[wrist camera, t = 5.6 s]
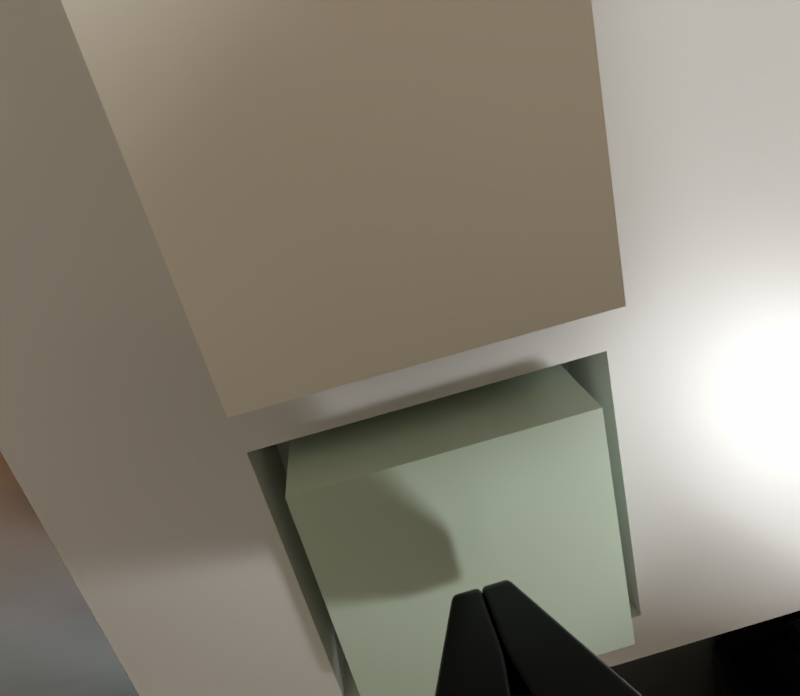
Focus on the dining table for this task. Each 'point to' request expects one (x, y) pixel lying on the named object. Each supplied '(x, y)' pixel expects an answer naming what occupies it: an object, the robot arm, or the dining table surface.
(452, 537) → the key sage
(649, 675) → the dining table surface
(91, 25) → the key cream
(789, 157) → the keypad
